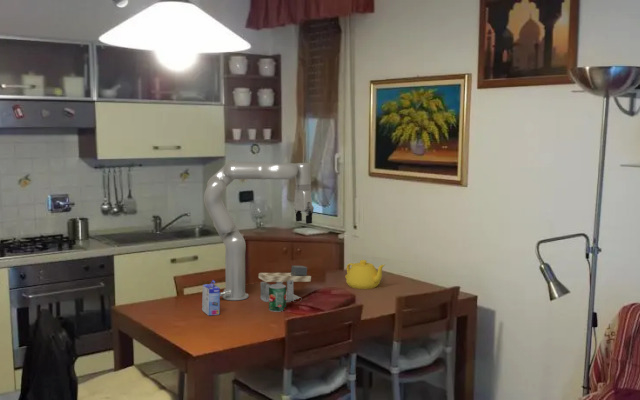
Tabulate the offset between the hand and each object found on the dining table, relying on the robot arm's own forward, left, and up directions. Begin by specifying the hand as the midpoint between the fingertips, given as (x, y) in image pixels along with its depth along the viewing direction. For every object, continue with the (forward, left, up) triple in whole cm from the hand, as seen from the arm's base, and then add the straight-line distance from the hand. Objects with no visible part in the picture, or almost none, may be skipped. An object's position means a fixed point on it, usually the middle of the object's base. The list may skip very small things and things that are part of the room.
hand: (303, 222), depth 323 cm
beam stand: (-15, +3, -36) cm, 39 cm away
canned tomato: (-29, -10, -37) cm, 48 cm away
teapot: (+34, -12, -37) cm, 51 cm away
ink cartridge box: (-53, +8, -37) cm, 65 cm away
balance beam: (-12, +2, -27) cm, 30 cm away
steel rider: (-5, -1, -27) cm, 27 cm away
